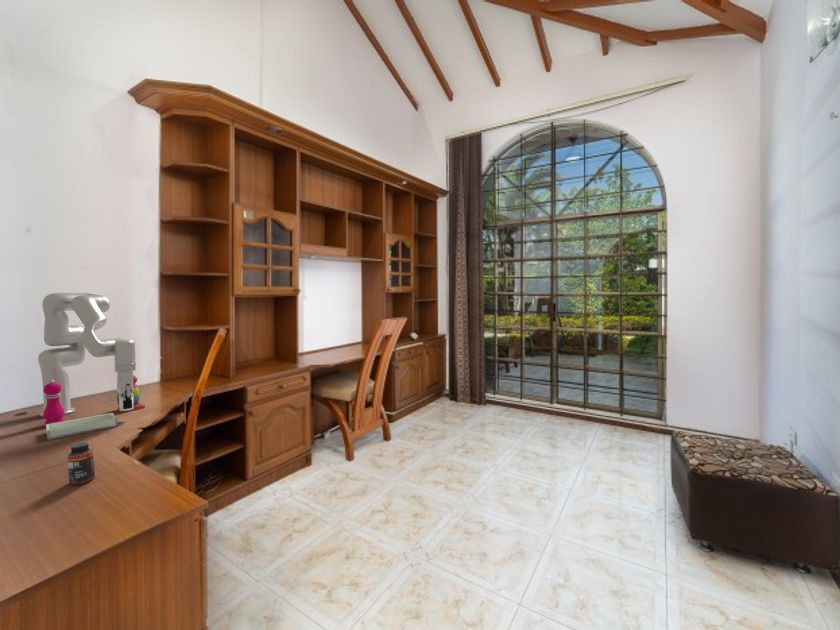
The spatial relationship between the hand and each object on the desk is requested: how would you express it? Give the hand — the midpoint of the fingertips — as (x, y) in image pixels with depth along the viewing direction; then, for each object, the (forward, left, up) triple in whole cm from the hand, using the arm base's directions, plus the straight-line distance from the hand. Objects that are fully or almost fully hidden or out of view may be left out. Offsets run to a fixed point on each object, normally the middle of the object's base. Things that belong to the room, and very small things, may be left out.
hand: (126, 406), depth 180 cm
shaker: (0, 0, -1) cm, 1 cm away
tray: (+2, -16, -6) cm, 17 cm away
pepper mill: (-17, -24, -6) cm, 30 cm away
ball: (+1, +1, +7) cm, 7 cm away
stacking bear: (-22, +4, -6) cm, 24 cm away
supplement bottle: (+65, -21, -6) cm, 68 cm away
